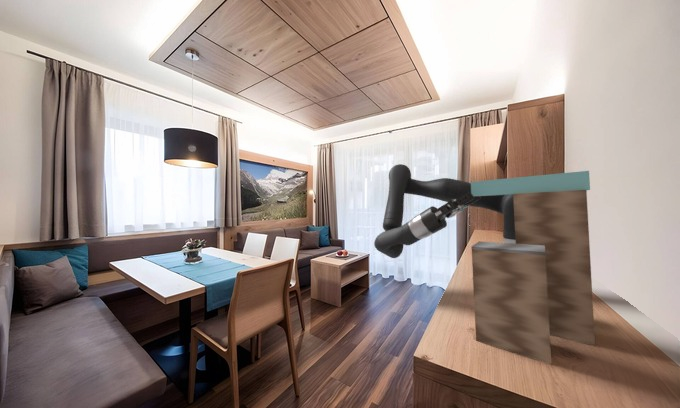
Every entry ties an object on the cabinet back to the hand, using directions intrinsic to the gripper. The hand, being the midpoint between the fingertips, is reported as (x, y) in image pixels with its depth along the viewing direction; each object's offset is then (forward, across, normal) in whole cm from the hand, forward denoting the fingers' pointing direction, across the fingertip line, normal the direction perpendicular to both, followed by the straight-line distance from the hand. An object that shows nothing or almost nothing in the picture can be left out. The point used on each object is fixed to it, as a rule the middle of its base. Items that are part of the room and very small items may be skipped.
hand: (475, 195), depth 62 cm
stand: (-4, 0, +35) cm, 35 cm away
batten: (+9, 0, +6) cm, 10 cm away
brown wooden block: (-10, -12, +32) cm, 35 cm away
